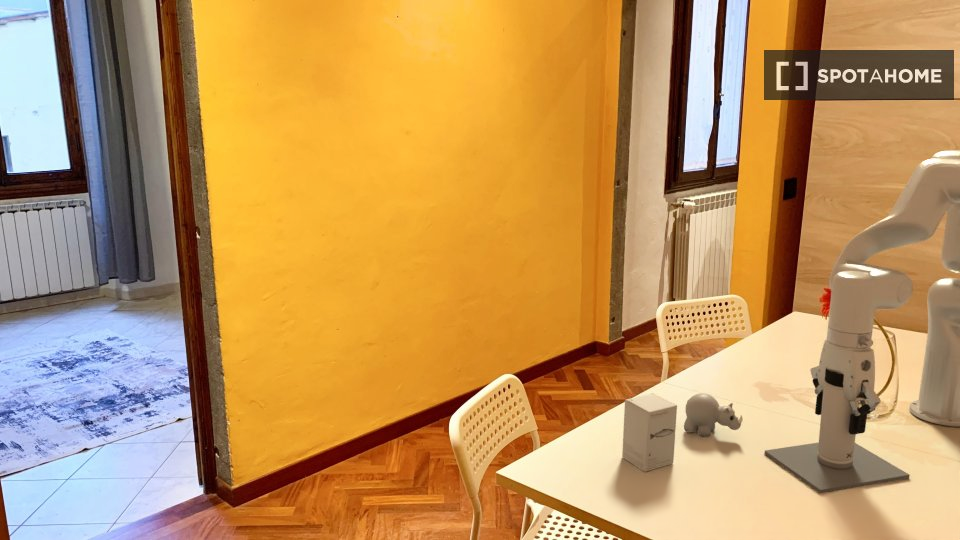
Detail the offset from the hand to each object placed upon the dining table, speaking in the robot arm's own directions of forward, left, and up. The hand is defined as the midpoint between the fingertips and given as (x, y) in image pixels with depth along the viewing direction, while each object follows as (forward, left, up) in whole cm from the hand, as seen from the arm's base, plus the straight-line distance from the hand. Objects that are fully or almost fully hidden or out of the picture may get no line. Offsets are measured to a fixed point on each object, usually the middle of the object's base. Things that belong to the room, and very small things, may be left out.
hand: (839, 422), depth 142 cm
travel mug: (0, 0, -8) cm, 8 cm away
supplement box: (+34, -12, -9) cm, 37 cm away
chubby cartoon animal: (+15, -19, -9) cm, 26 cm away
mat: (0, 0, -9) cm, 9 cm away
